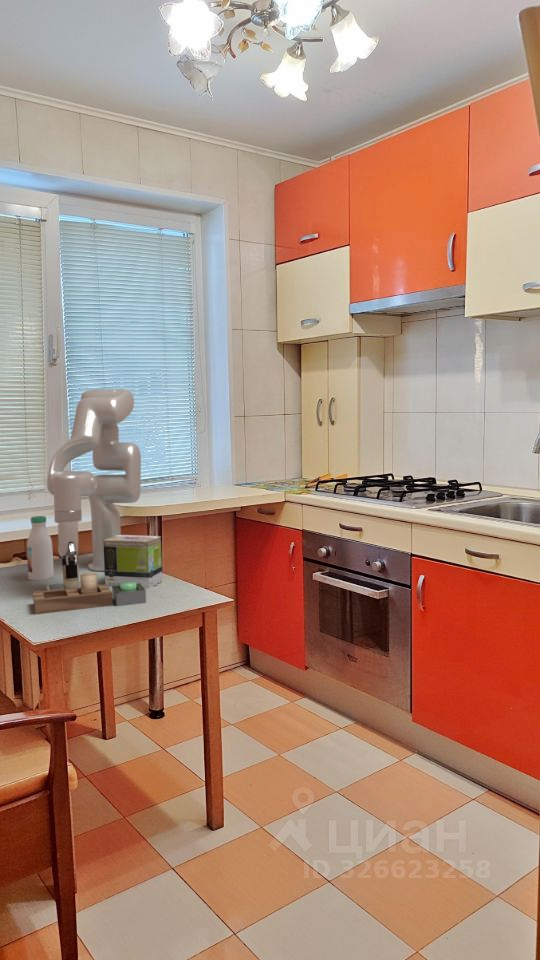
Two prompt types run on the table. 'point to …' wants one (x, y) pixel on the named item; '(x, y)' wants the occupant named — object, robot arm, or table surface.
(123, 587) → the button
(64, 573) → the dowel
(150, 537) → the tea box
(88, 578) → the seated dowel
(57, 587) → the shallow grey square tray
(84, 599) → the wooden dowel rack
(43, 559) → the milk bottle
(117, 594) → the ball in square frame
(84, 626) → the table surface
